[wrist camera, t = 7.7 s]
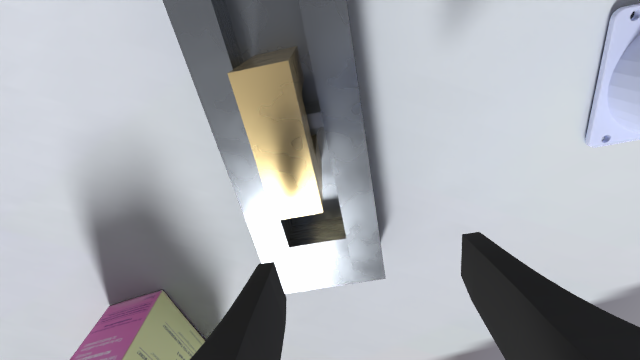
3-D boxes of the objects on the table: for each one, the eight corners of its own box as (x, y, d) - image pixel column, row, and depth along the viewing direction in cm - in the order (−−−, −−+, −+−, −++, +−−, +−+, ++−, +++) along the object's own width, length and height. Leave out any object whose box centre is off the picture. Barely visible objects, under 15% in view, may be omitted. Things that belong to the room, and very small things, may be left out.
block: (315, -178, 14) (315, -225, 11) (378, 249, 25) (385, 278, 22) (141, -130, 14) (101, -162, 12) (278, 265, 25) (273, 295, 23)
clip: (297, 46, 17) (288, 60, 12) (321, 161, 20) (323, 212, 15) (254, 55, 17) (227, 73, 12) (285, 167, 21) (274, 220, 15)
